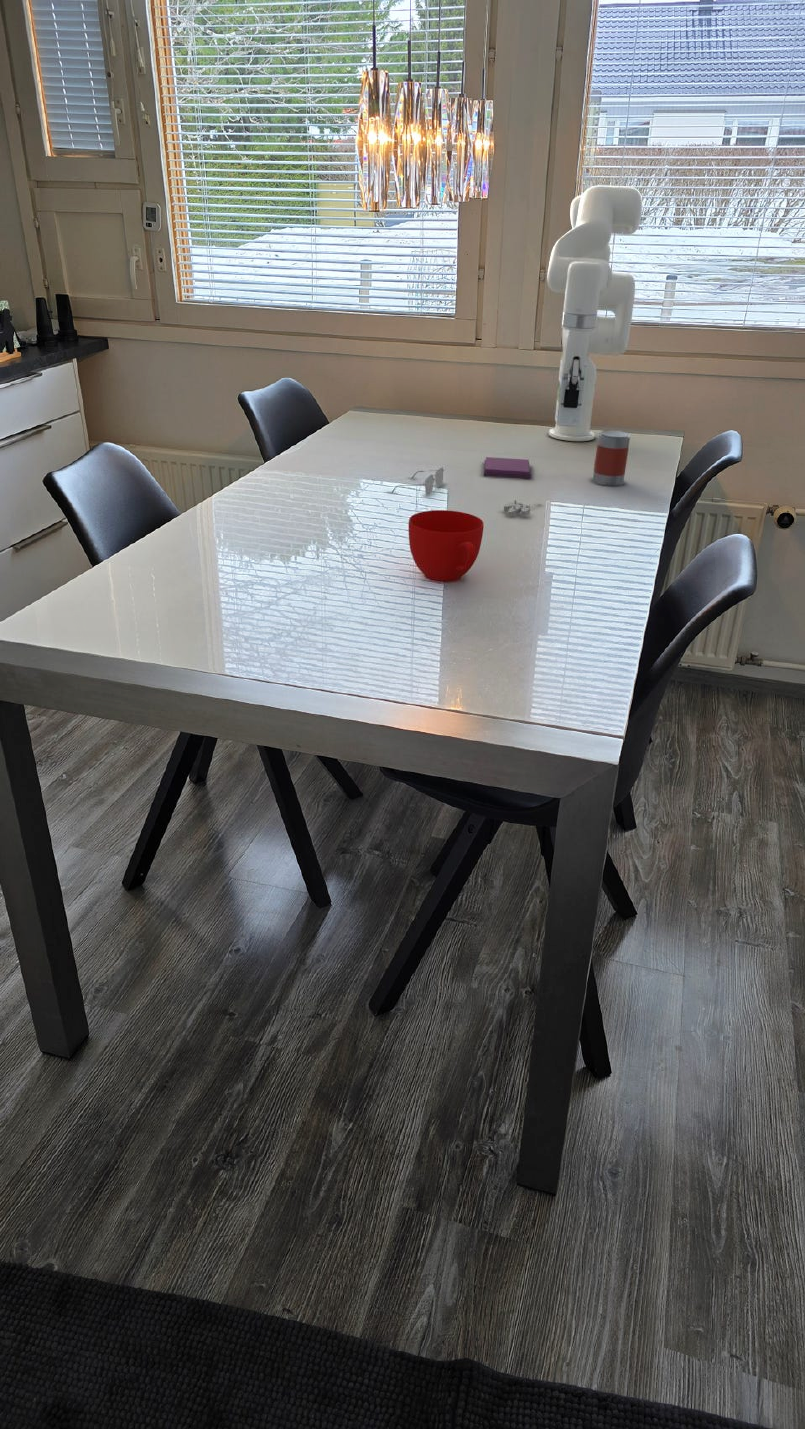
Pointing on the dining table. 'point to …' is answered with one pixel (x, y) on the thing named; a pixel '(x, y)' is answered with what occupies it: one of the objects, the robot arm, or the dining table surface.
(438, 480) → the eyeglasses
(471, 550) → the ceramic cup
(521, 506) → the game controller
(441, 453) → the dining table surface
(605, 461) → the tin can
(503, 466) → the purple square slab
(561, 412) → the syrup box
